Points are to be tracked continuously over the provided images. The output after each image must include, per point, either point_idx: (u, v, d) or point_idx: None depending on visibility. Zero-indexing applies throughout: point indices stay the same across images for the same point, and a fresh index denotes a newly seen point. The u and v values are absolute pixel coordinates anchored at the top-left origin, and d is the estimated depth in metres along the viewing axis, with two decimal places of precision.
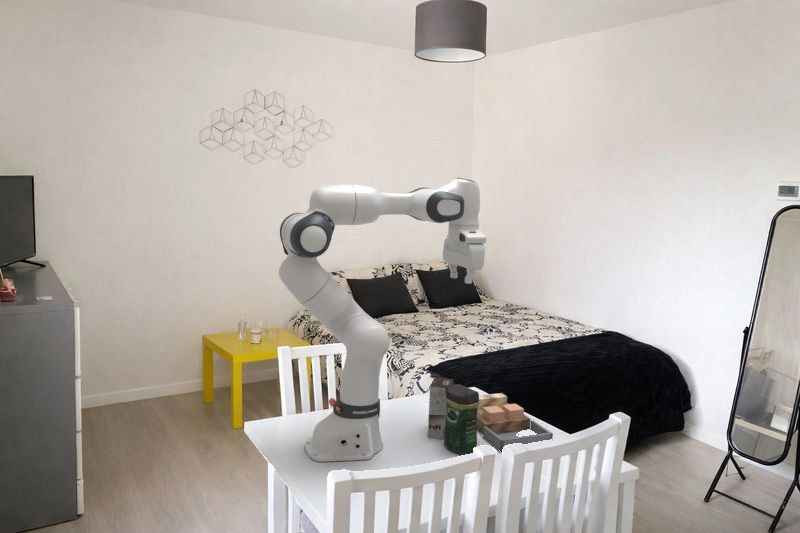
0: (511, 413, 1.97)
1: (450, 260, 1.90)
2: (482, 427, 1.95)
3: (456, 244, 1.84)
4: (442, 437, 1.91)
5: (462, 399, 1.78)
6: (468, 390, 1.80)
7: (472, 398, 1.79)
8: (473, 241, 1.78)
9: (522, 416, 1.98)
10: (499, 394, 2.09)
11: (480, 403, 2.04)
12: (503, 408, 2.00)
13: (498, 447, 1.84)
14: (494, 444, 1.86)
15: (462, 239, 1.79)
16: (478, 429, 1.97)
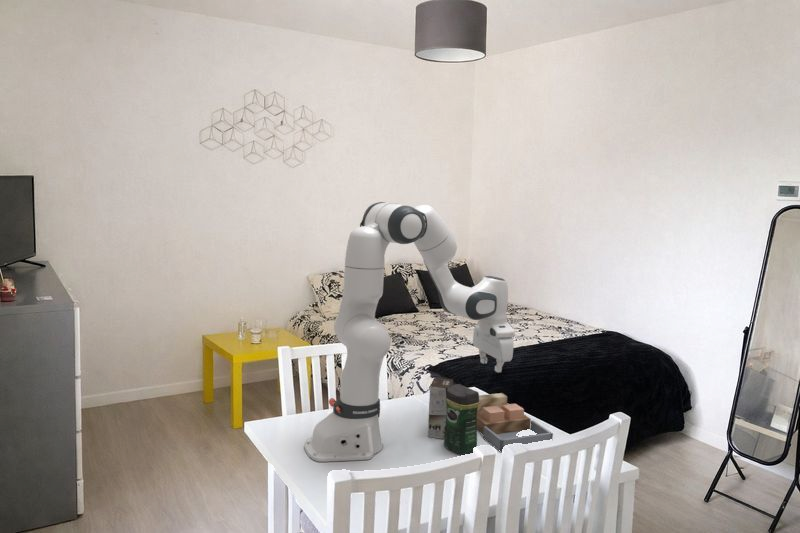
0: (511, 413, 1.97)
1: (480, 348, 2.08)
2: (482, 427, 1.95)
3: (486, 336, 2.02)
4: (442, 437, 1.91)
5: (462, 399, 1.78)
6: (468, 390, 1.80)
7: (472, 398, 1.79)
8: (503, 336, 1.95)
9: (522, 416, 1.98)
10: (499, 394, 2.09)
11: (480, 403, 2.04)
12: (503, 408, 2.00)
13: (498, 447, 1.84)
14: (494, 444, 1.86)
15: (493, 333, 1.97)
16: (478, 429, 1.97)
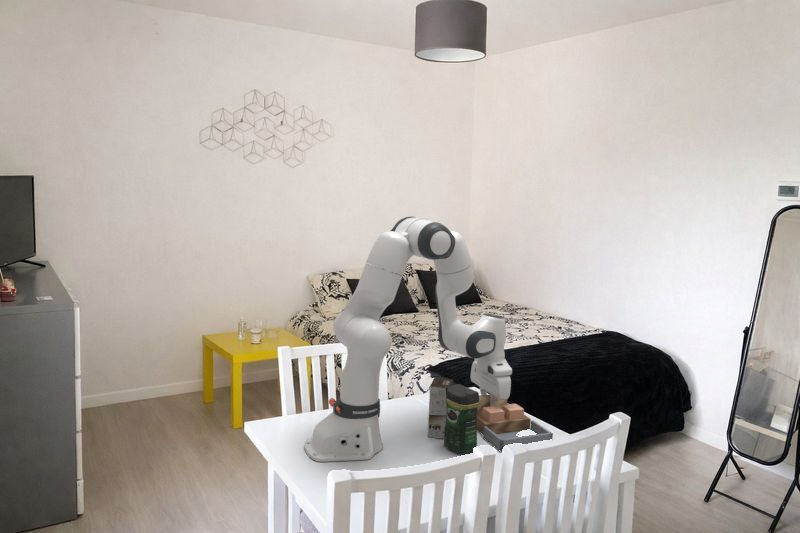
0: (511, 413, 1.97)
1: (478, 384, 2.10)
2: (482, 427, 1.95)
3: (484, 373, 2.03)
4: (442, 437, 1.91)
5: (462, 399, 1.78)
6: (468, 390, 1.80)
7: (472, 398, 1.79)
8: (500, 374, 1.97)
9: (522, 416, 1.98)
10: None
11: (480, 403, 2.04)
12: (503, 408, 2.00)
13: (498, 447, 1.84)
14: (494, 444, 1.86)
15: (490, 371, 1.99)
16: (478, 429, 1.97)
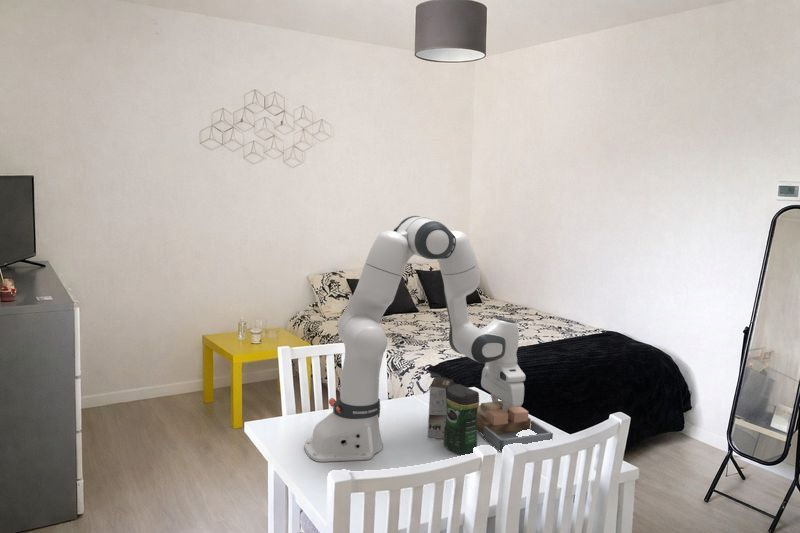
0: (516, 416, 1.95)
1: (489, 390, 2.02)
2: (482, 427, 1.95)
3: (496, 379, 1.96)
4: (442, 437, 1.91)
5: (462, 399, 1.78)
6: (468, 390, 1.80)
7: (472, 398, 1.79)
8: (513, 380, 1.90)
9: (526, 419, 1.96)
10: None
11: None
12: None
13: (498, 447, 1.84)
14: (494, 444, 1.86)
15: (503, 377, 1.92)
16: (478, 429, 1.97)
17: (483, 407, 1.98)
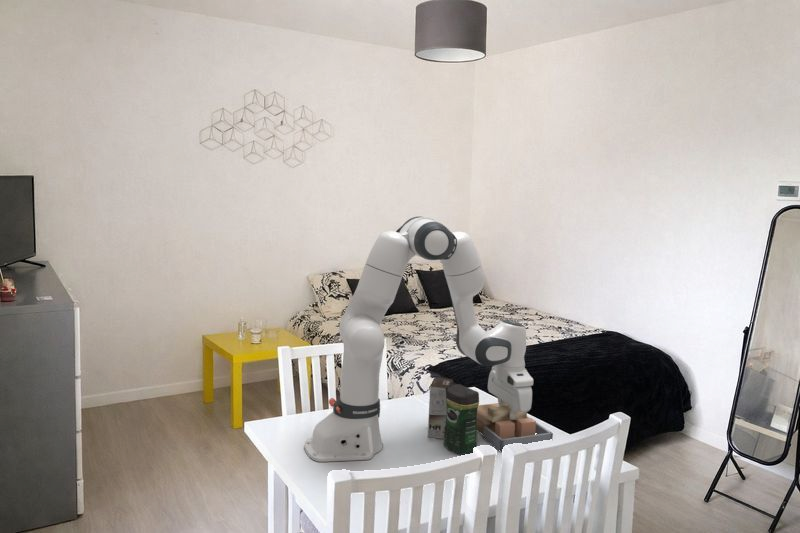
0: None
1: (496, 394, 1.98)
2: (482, 427, 1.95)
3: (503, 383, 1.92)
4: (442, 437, 1.91)
5: (462, 399, 1.78)
6: (468, 390, 1.80)
7: (472, 398, 1.79)
8: (521, 385, 1.86)
9: None
10: None
11: (499, 414, 1.93)
12: (520, 425, 1.91)
13: (498, 447, 1.84)
14: (494, 444, 1.86)
15: (510, 382, 1.88)
16: (478, 429, 1.97)
17: (490, 412, 1.94)
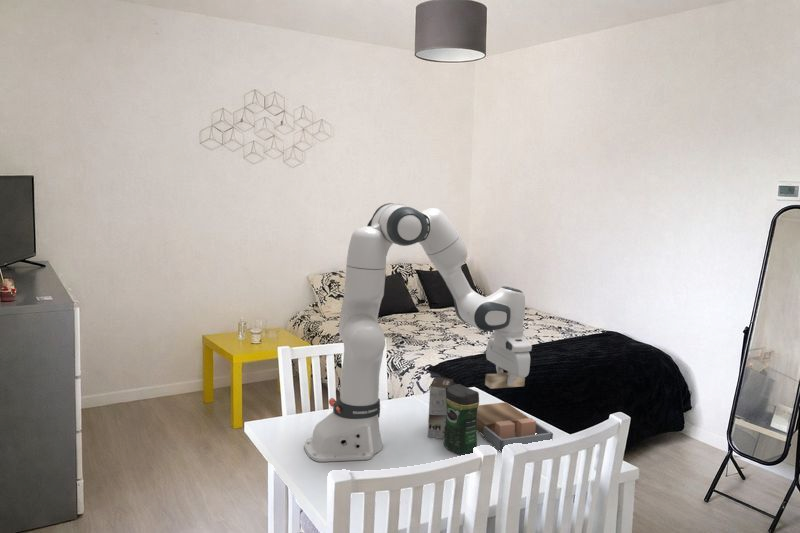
0: None
1: (494, 361, 1.99)
2: (482, 427, 1.95)
3: (502, 349, 1.93)
4: (442, 437, 1.91)
5: (462, 399, 1.78)
6: (468, 390, 1.80)
7: (472, 398, 1.79)
8: (519, 350, 1.86)
9: None
10: None
11: (497, 381, 1.93)
12: (520, 425, 1.91)
13: (498, 447, 1.84)
14: (494, 444, 1.86)
15: (509, 347, 1.88)
16: (478, 429, 1.97)
17: (488, 378, 1.94)
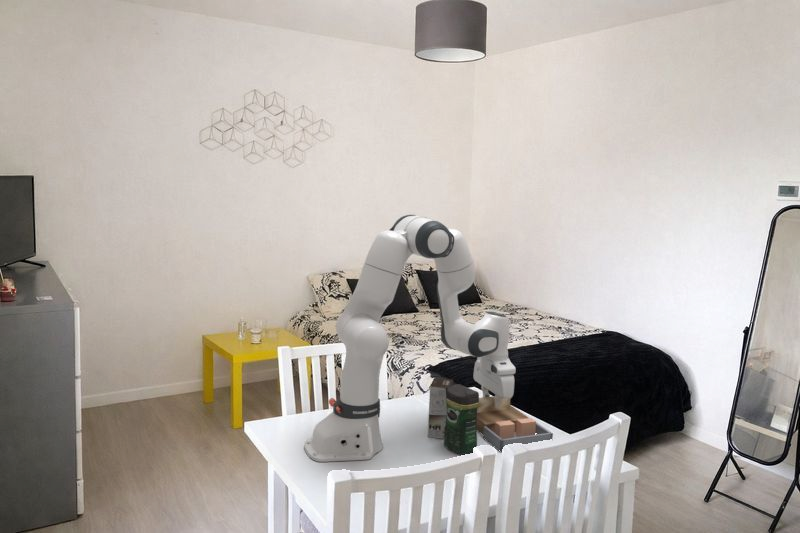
0: None
1: (481, 383, 2.08)
2: (482, 427, 1.95)
3: (487, 372, 2.01)
4: (442, 437, 1.91)
5: (462, 399, 1.78)
6: (468, 390, 1.80)
7: (472, 398, 1.79)
8: (504, 373, 1.95)
9: None
10: None
11: (483, 405, 2.02)
12: (520, 425, 1.91)
13: (498, 447, 1.84)
14: (494, 444, 1.86)
15: (494, 370, 1.97)
16: (478, 429, 1.97)
17: None
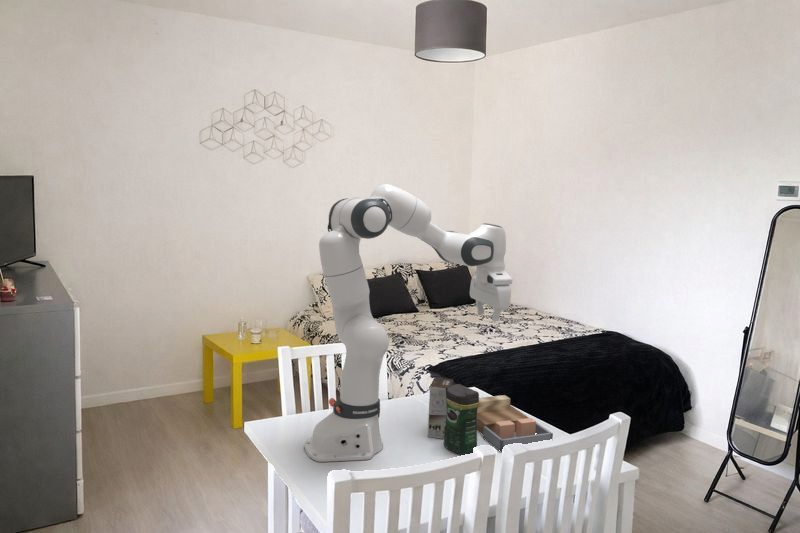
0: None
1: (477, 298, 2.05)
2: (482, 427, 1.95)
3: (484, 284, 1.98)
4: (442, 437, 1.91)
5: (462, 399, 1.78)
6: (468, 390, 1.80)
7: (472, 398, 1.79)
8: (500, 283, 1.92)
9: None
10: (502, 396, 2.07)
11: (483, 405, 2.02)
12: (520, 425, 1.91)
13: (498, 447, 1.84)
14: (494, 444, 1.86)
15: (490, 281, 1.94)
16: (478, 429, 1.97)
17: None
